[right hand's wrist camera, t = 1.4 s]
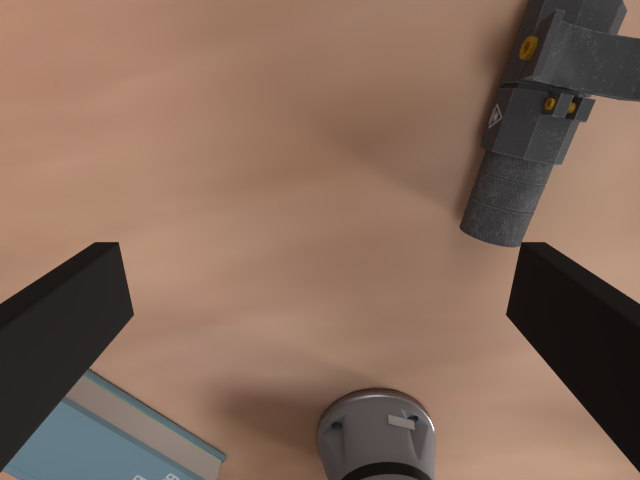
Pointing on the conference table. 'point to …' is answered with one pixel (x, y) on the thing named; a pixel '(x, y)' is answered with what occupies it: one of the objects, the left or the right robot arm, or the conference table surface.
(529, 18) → the laser sight
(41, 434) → the book
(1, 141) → the conference table surface
